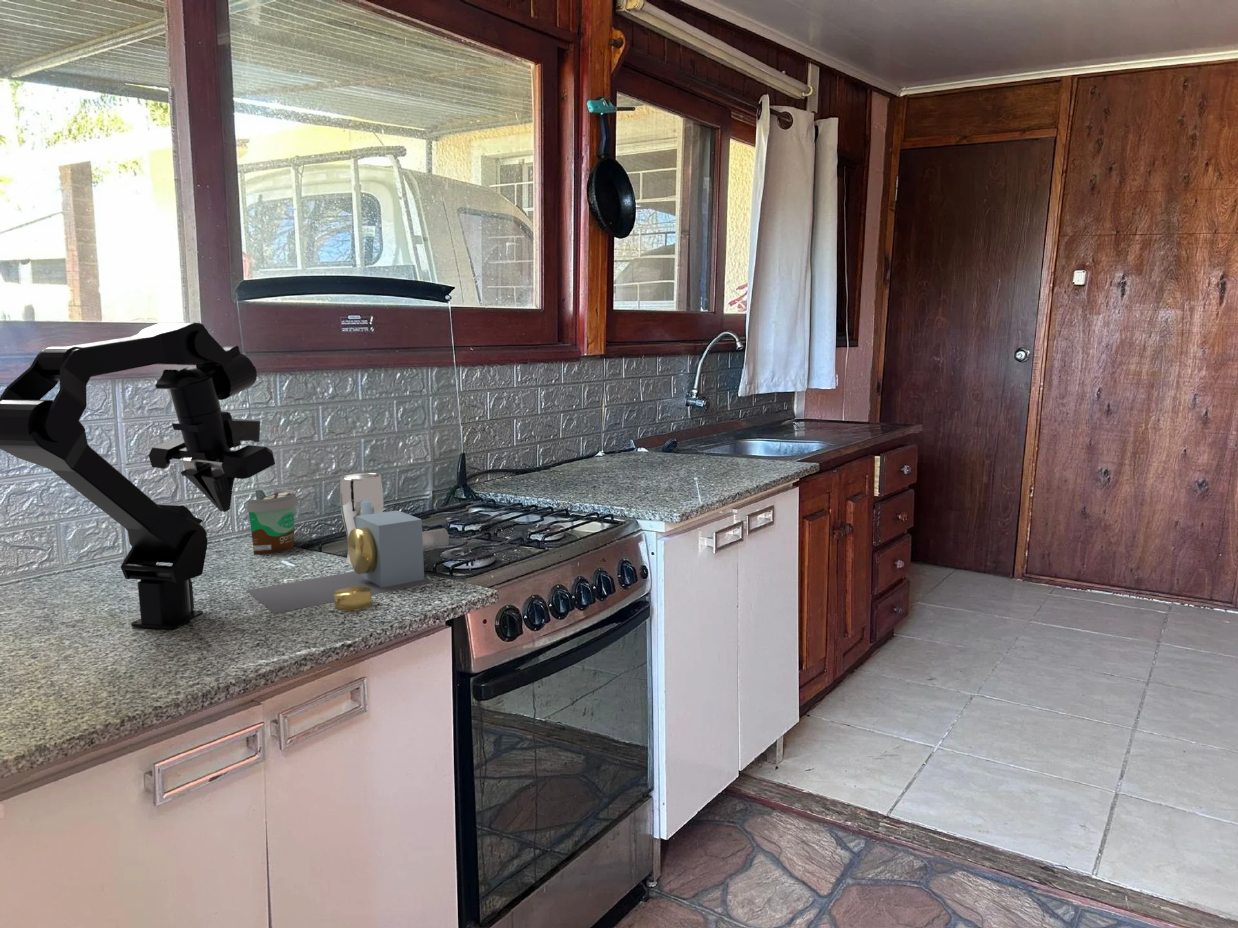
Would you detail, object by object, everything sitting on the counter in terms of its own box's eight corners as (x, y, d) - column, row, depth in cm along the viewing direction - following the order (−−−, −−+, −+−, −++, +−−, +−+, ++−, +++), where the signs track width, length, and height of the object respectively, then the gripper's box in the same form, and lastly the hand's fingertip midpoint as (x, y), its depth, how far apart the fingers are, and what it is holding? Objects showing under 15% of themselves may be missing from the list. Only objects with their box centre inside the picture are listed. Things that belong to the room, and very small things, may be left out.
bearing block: (381, 587, 132) (378, 525, 130) (359, 574, 139) (355, 516, 137) (424, 579, 136) (421, 519, 135) (400, 567, 143) (397, 510, 142)
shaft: (366, 578, 131) (364, 533, 130) (349, 568, 137) (347, 525, 136) (455, 562, 140) (454, 520, 139) (435, 553, 146) (434, 513, 145)
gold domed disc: (361, 615, 121) (361, 597, 120) (328, 613, 122) (327, 596, 121) (377, 604, 126) (376, 587, 125) (345, 602, 126) (344, 585, 126)
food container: (285, 556, 152) (281, 500, 151) (250, 556, 152) (246, 500, 151) (311, 540, 164) (308, 488, 163) (278, 540, 164) (275, 488, 163)
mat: (274, 616, 120) (274, 613, 120) (246, 592, 131) (245, 590, 131) (433, 584, 134) (433, 582, 134) (396, 566, 145) (396, 563, 145)
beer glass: (392, 557, 151) (388, 472, 149) (377, 568, 144) (373, 479, 142) (353, 557, 152) (349, 472, 149) (336, 567, 145) (331, 479, 142)
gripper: (290, 397, 125) (312, 495, 131) (196, 389, 133) (220, 482, 139) (231, 422, 116) (257, 527, 122) (133, 413, 123) (162, 512, 129)
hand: (225, 510), depth 128 cm, fingers closed
